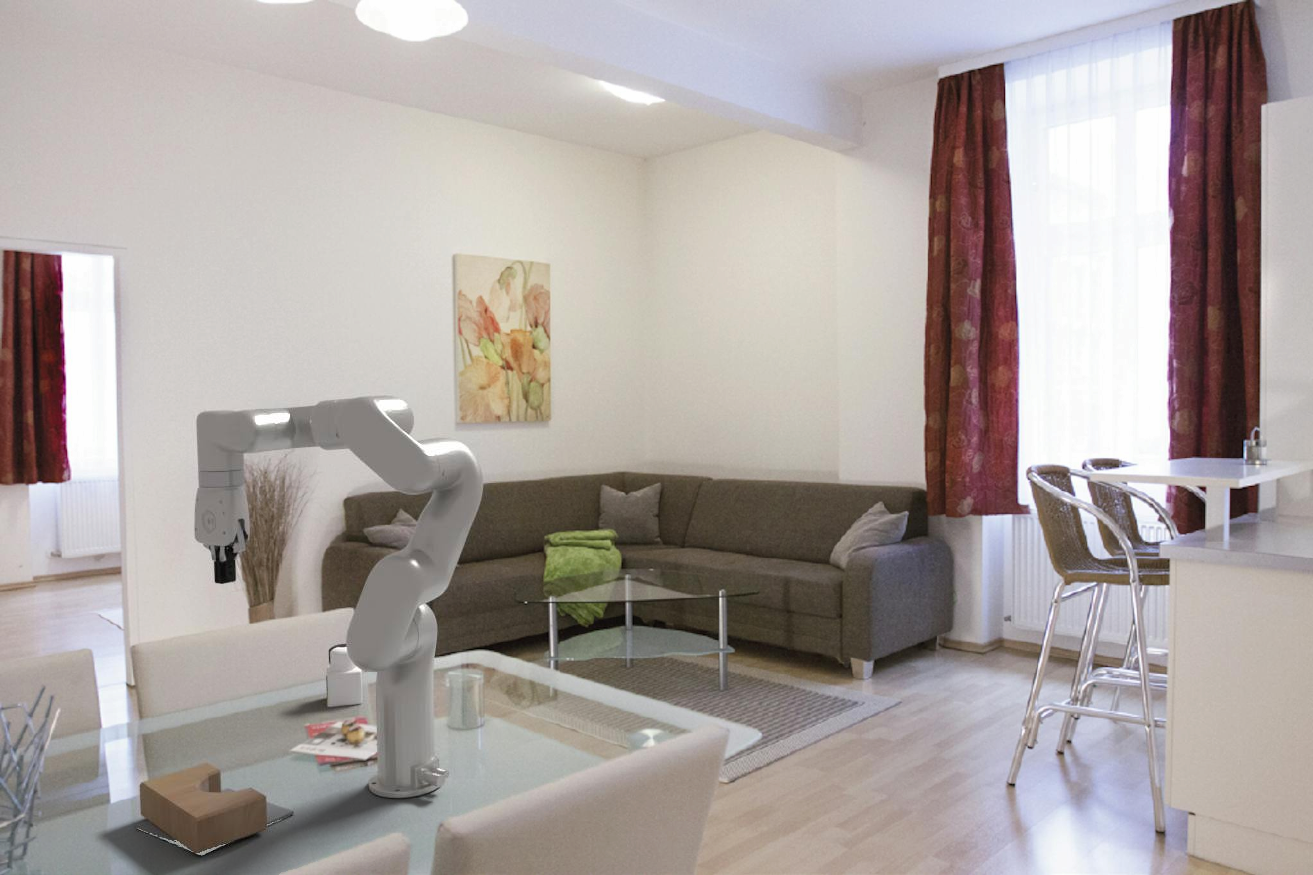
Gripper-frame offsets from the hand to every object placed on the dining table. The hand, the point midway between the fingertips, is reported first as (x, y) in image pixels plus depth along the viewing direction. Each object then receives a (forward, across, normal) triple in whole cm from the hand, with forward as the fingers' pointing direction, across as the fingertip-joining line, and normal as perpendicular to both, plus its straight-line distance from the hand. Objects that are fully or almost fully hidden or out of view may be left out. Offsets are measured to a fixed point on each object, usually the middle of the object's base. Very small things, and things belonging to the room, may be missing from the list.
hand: (225, 582), depth 177 cm
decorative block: (+30, +9, -16) cm, 35 cm away
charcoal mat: (+33, +19, -16) cm, 41 cm away
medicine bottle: (+33, -10, +34) cm, 49 cm away
